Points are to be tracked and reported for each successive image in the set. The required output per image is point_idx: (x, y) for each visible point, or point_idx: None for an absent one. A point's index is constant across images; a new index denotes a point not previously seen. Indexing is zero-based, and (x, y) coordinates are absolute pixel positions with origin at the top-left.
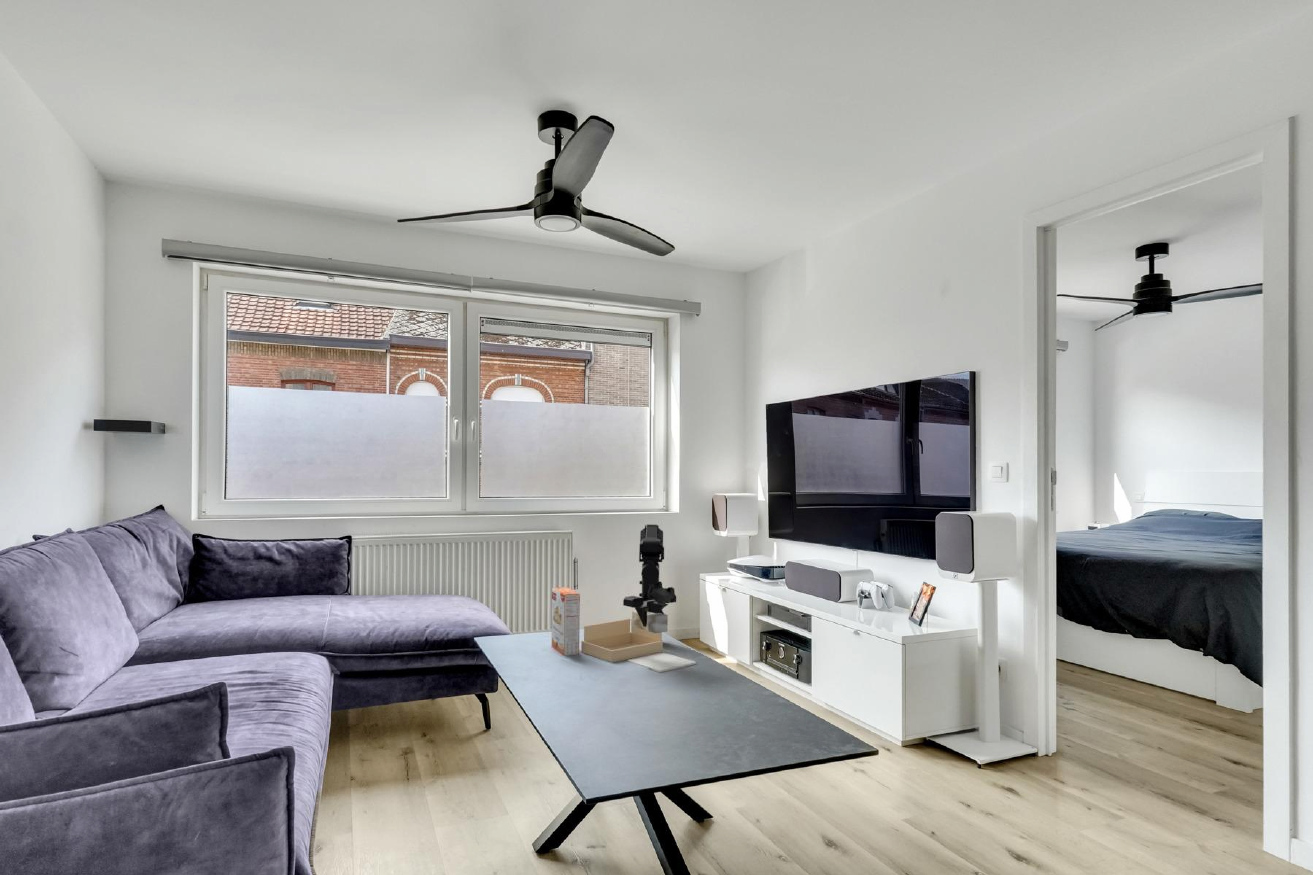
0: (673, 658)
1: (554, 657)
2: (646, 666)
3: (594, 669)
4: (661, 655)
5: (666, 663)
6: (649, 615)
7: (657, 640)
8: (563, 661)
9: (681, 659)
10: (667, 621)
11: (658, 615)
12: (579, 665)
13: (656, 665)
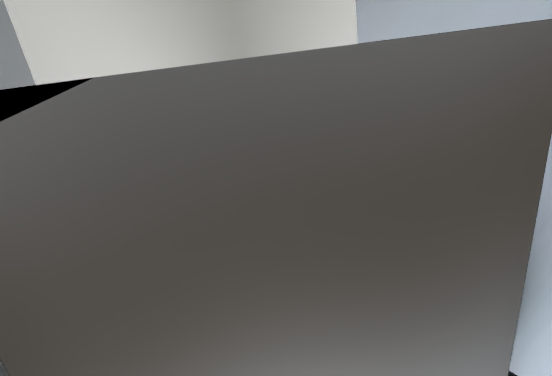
0: None
1: (531, 366)
2: (356, 41)
3: (548, 160)
4: None
5: (213, 32)
6: (488, 346)
7: None
8: (546, 313)
9: (64, 66)
10: (51, 92)
11: (369, 161)
12: (545, 242)
13: (295, 24)
